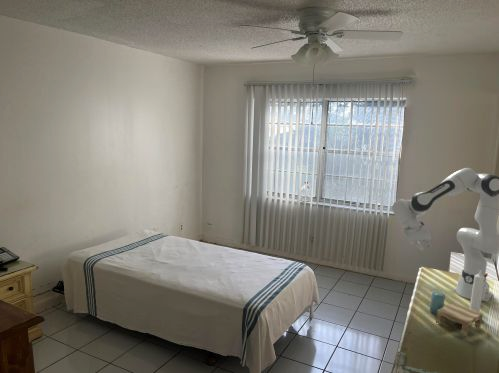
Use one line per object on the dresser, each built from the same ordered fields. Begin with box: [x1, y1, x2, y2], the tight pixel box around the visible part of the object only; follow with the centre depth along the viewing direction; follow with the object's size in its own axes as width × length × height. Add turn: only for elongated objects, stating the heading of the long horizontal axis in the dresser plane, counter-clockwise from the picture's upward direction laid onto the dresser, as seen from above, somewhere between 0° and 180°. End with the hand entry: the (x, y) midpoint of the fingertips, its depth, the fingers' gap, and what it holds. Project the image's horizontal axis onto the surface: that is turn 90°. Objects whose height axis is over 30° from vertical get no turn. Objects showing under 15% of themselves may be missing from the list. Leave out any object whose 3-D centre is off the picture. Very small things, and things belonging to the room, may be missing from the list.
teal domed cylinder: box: [429, 291, 446, 315], centre depth 198 cm, size 6×6×10 cm
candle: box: [469, 270, 485, 313], centre depth 195 cm, size 7×7×25 cm
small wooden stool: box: [435, 302, 483, 337], centre depth 186 cm, size 16×14×7 cm
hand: (426, 249), depth 203 cm, fingers open, 8 cm apart
